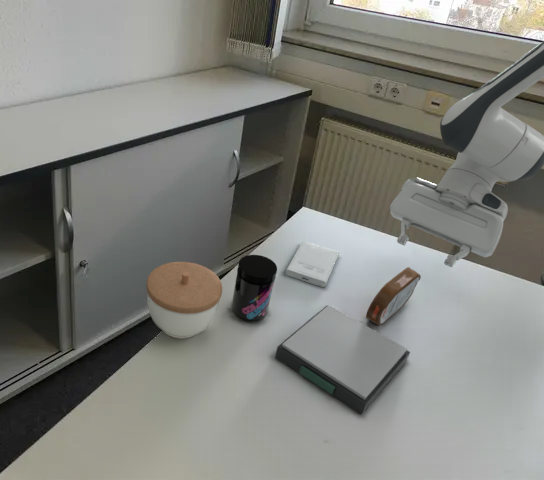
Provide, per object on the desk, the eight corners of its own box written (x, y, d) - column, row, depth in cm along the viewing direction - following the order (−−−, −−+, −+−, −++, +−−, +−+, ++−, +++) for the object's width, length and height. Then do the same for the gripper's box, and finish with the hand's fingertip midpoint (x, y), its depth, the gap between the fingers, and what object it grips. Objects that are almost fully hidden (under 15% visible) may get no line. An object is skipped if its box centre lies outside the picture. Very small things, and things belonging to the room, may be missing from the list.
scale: (405, 362, 92) (411, 349, 90) (360, 416, 81) (365, 402, 79) (324, 315, 100) (327, 302, 98) (273, 358, 90) (276, 345, 88)
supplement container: (231, 322, 96) (240, 276, 90) (229, 298, 102) (237, 253, 96) (269, 325, 96) (280, 279, 91) (264, 301, 102) (274, 256, 96)
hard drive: (337, 257, 117) (324, 288, 107) (300, 246, 119) (285, 274, 110) (339, 251, 116) (326, 281, 106) (302, 240, 118) (286, 268, 109)
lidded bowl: (161, 358, 87) (165, 305, 81) (133, 309, 97) (136, 259, 91) (229, 339, 92) (238, 289, 86) (196, 295, 102) (202, 246, 96)
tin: (398, 293, 108) (412, 259, 103) (413, 301, 106) (427, 266, 101) (360, 325, 98) (372, 289, 94) (375, 335, 97) (389, 298, 92)
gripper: (408, 167, 108) (372, 225, 107) (516, 208, 97) (477, 273, 96) (410, 181, 113) (376, 236, 112) (513, 221, 102) (476, 283, 101)
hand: (423, 253), depth 104 cm, fingers open, 8 cm apart
